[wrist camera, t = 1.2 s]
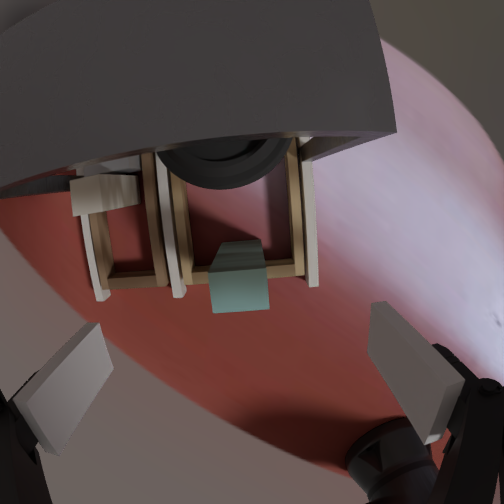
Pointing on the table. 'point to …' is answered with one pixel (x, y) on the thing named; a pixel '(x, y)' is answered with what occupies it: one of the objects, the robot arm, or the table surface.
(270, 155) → the coffee cup
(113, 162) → the grey block
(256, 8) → the shelf
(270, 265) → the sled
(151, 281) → the sled
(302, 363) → the table surface
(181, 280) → the lane rails
